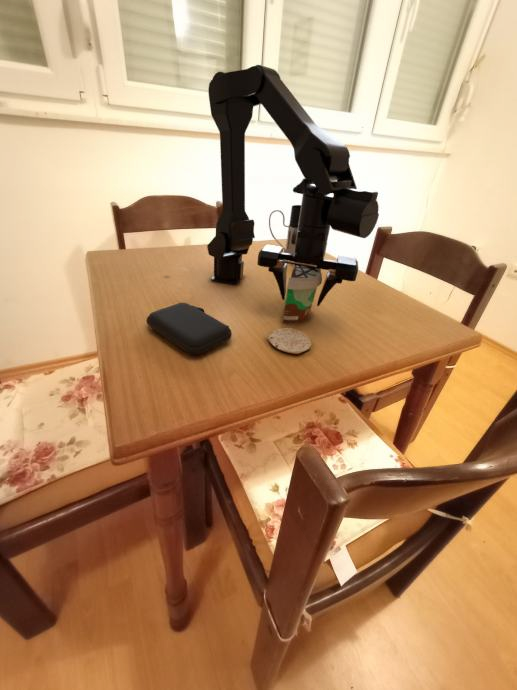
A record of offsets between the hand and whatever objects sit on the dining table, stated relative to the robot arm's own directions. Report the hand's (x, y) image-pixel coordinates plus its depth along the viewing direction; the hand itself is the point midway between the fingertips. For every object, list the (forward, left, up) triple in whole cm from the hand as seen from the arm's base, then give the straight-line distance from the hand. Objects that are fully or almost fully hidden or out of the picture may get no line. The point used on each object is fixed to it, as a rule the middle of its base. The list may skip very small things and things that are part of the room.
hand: (300, 302), depth 65 cm
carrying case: (-18, -15, -3) cm, 23 cm away
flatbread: (0, -12, -3) cm, 12 cm away
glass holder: (-8, +35, -3) cm, 36 cm away
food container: (0, 0, -3) cm, 3 cm away
